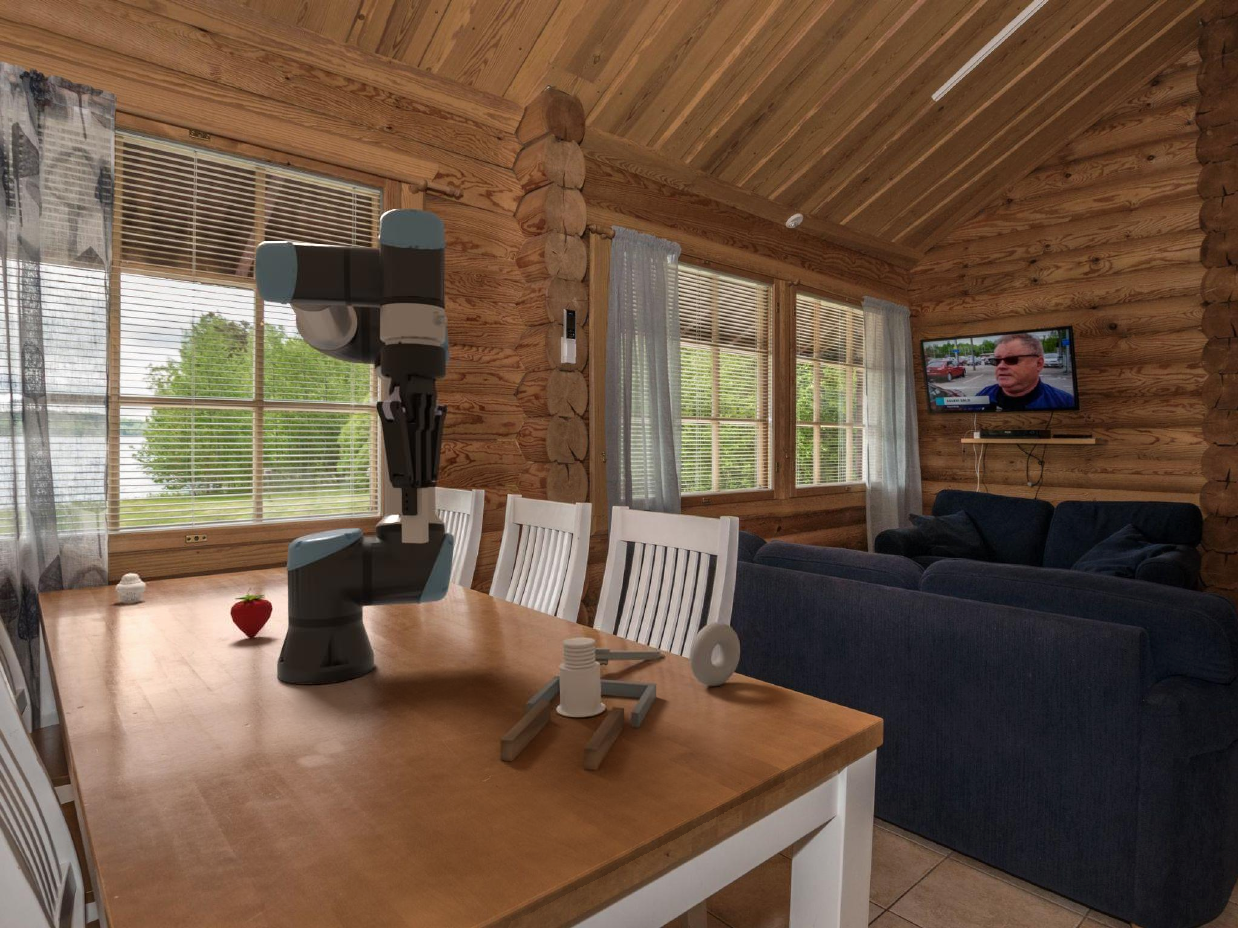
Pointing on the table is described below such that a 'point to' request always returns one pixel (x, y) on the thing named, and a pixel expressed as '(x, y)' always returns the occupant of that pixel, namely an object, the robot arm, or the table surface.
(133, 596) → the muffin
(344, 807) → the table surface
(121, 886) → the table surface
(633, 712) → the open frame
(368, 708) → the table surface
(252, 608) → the strawberry
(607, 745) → the slot
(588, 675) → the downlight
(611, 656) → the caliper
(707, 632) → the donut
